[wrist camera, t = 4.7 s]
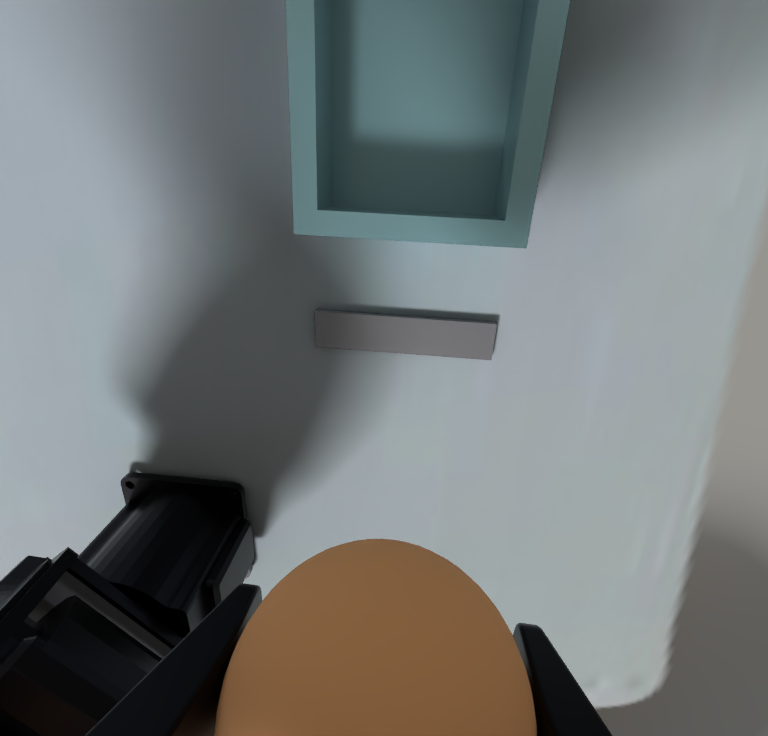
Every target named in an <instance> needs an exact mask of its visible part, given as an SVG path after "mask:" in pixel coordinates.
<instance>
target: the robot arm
mask: <svg viewBox="0 0 768 736" xmlns="http://www.w3.org/2000/svg"><path fill="white" fill-rule="evenodd" d="M121 487H122V491H123V495H124V499H125V503H126V506H125V507H124V508H123V509H122V510H121V511H120V512H119V513H118V514H117V515H116V516H115V517H114V519H113V520H112V521H111V522H110V523H109V524H108V525H107V526H106V527H105V528H104V529H103V530H102V531H101V533H100V534H99V535H98V536H97V537H96V538H95V539H94V540H93V541H92V542H91V543H90V544H89V545H88V547H87V548H86V549H85V550H84V551H83V552H82V553H81V554H80V555H78V554H77V553H75V552H74V551H73V550H72V549H70V548H69V547H67V548H66V549H65V550H64V551H62V552H61V553H60V554H58V555H57V556H56V557H55V558H53V559H52V560H51V559H49V558H48V557H46V558H41V557H34V556H27V557H26V558H25V559H23V560H22V561H21V562H20V563H19V564H18V565H17V566H16V567H15V568H13V569H12V570H11V571H10V572H9V573H8V574H7V575H6V576H5V577H4V578H3V579H2V580H1V581H0V736H214V732H215V723H216V713H217V708H218V703H219V698H220V694H221V689H222V685H223V680H224V676H225V673H226V671H227V668H228V665H229V662H230V659H231V656H232V654H233V652H234V649H235V647H236V645H237V643H238V641H239V639H240V637H241V635H242V633H243V631H244V628H245V626H246V625H247V623H248V622H249V620H250V619H251V617H252V615H253V614H254V612H255V611H256V609H257V608H258V607H259V605H260V604H261V602H262V594H261V588H260V587H259V586H257V585H251V584H243V581H244V579H245V578H247V577H249V576H250V573H251V571H252V568H253V567H252V562H253V559H254V557H255V554H254V544H253V535H252V525H251V523H250V521H249V520H248V519H247V510H246V500H245V491H244V488H243V487H242V486H241V485H240V484H238V483H235V482H225V481H214V480H204V479H194V478H183V477H173V476H163V475H153V474H142V473H128V474H127V475H126V476H125V477H124V478H123V479H122V480H121ZM231 491H233V492H235V493H236V494H234V493H232V492H231ZM513 638H514V640H515V642H516V645H517V647H518V650H519V652H520V655H521V657H522V660H523V662H524V665H525V668H526V672H527V675H528V679H529V683H530V687H531V691H532V697H533V702H534V709H535V716H536V723H537V736H612V734H611V733H610V731H609V730H608V728H607V727H606V725H605V724H604V722H603V721H602V719H601V718H600V716H599V715H598V713H597V712H596V710H595V709H594V707H593V706H592V704H591V703H590V701H589V700H588V698H587V697H586V695H585V694H584V692H583V691H582V689H581V688H580V686H579V685H578V683H577V681H576V680H575V678H574V677H573V675H572V674H571V672H570V671H569V669H568V668H567V666H566V665H565V663H564V662H563V660H562V659H561V657H560V656H559V654H558V653H557V651H556V650H555V648H554V647H553V645H552V644H551V642H550V641H549V639H548V638H547V636H546V635H545V633H544V632H543V630H542V629H541V628H540V627H539V626H537V625H532V624H525V623H518V624H517V625H516V627H515V630H514V634H513Z"/></svg>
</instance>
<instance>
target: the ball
mask: <svg viewBox="0 0 768 736" xmlns="http://www.w3.org/2000/svg"><path fill="white" fill-rule="evenodd" d="M214 736H537V723H536V716H535V709H534V702H533V697H532V691H531V687H530V683H529V679H528V675H527V672H526V668H525V665H524V662H523V660H522V657H521V655H520V652H519V650H518V647H517V645H516V642H515V640H514V638H513V635H512V633H511V631H510V630H509V628H508V626H507V624H506V623H505V621H504V619H503V617H502V616H501V614H500V613H499V611H498V609H497V608H496V606H495V605H494V604H493V603H492V601H491V600H490V599H489V597H488V596H487V595H486V594H485V592H484V591H483V590H482V589H481V588H480V587H479V586H478V584H476V583H475V582H474V581H473V580H472V579H471V578H470V577H469V576H468V575H467V574H465V573H464V572H463V571H462V570H461V569H460V568H459V567H457V566H456V565H454V564H453V563H451V562H450V561H448V560H447V559H445V558H443V557H441V556H440V555H438V554H436V553H434V552H432V551H430V550H428V549H425V548H423V547H420V546H418V545H414V544H411V543H407V542H402V541H397V540H388V539H366V540H358V541H353V542H349V543H345V544H341V545H338V546H335V547H332V548H329V549H327V550H325V551H323V552H321V553H319V554H317V555H315V556H313V557H312V558H310V559H308V560H306V561H305V562H303V563H302V564H300V565H299V566H298V567H296V568H295V569H294V570H292V571H291V572H290V573H289V574H288V575H286V576H285V577H284V578H283V579H282V580H281V581H280V582H279V583H278V584H277V585H276V586H275V587H274V588H273V589H272V590H271V591H270V593H269V594H268V595H267V596H266V597H265V598H264V600H263V601H262V602H261V604H260V605H259V607H258V608H257V609H256V611H255V612H254V614H253V615H252V617H251V619H250V620H249V622H248V623H247V625H246V626H245V628H244V631H243V633H242V635H241V637H240V639H239V641H238V643H237V645H236V647H235V649H234V652H233V654H232V656H231V659H230V662H229V665H228V668H227V671H226V673H225V676H224V680H223V685H222V689H221V694H220V698H219V703H218V708H217V713H216V723H215V732H214Z"/></svg>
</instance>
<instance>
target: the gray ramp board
mask: <svg viewBox="0 0 768 736" xmlns="http://www.w3.org/2000/svg"><path fill="white" fill-rule="evenodd" d="M496 328H497V323H496V322H488V321H474V320H460V319H446V318H432V317H417V316H403V315H389V314H375V313H361V312H347V311H333V310H319V309H316V311H315V346H316V347H326V348H339V349H352V350H365V351H378V352H391V353H404V354H417V355H430V356H443V357H457V358H470V359H483V360H491V359H492V353H493V346H494V340H495V334H496Z"/></svg>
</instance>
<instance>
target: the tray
mask: <svg viewBox="0 0 768 736" xmlns="http://www.w3.org/2000/svg"><path fill="white" fill-rule="evenodd" d="M285 4H286V32H287V59H288V87H289V115H290V142H291V170H292V198H293V225H294V234H297V235H313V236H330V237H347V238H363V239H380V240H396V241H413V242H430V243H446V244H463V245H480V246H496V247H513V248H527V243H528V237H529V231H530V226H531V220H532V214H533V209H534V203H535V197H536V192H537V186H538V180H539V175H540V169H541V163H542V158H543V152H544V146H545V141H546V135H547V129H548V124H549V118H550V112H551V107H552V101H553V95H554V90H555V84H556V78H557V73H558V67H559V61H560V56H561V50H562V44H563V39H564V33H565V27H566V22H567V16H568V10H569V5H570V0H285Z"/></svg>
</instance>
